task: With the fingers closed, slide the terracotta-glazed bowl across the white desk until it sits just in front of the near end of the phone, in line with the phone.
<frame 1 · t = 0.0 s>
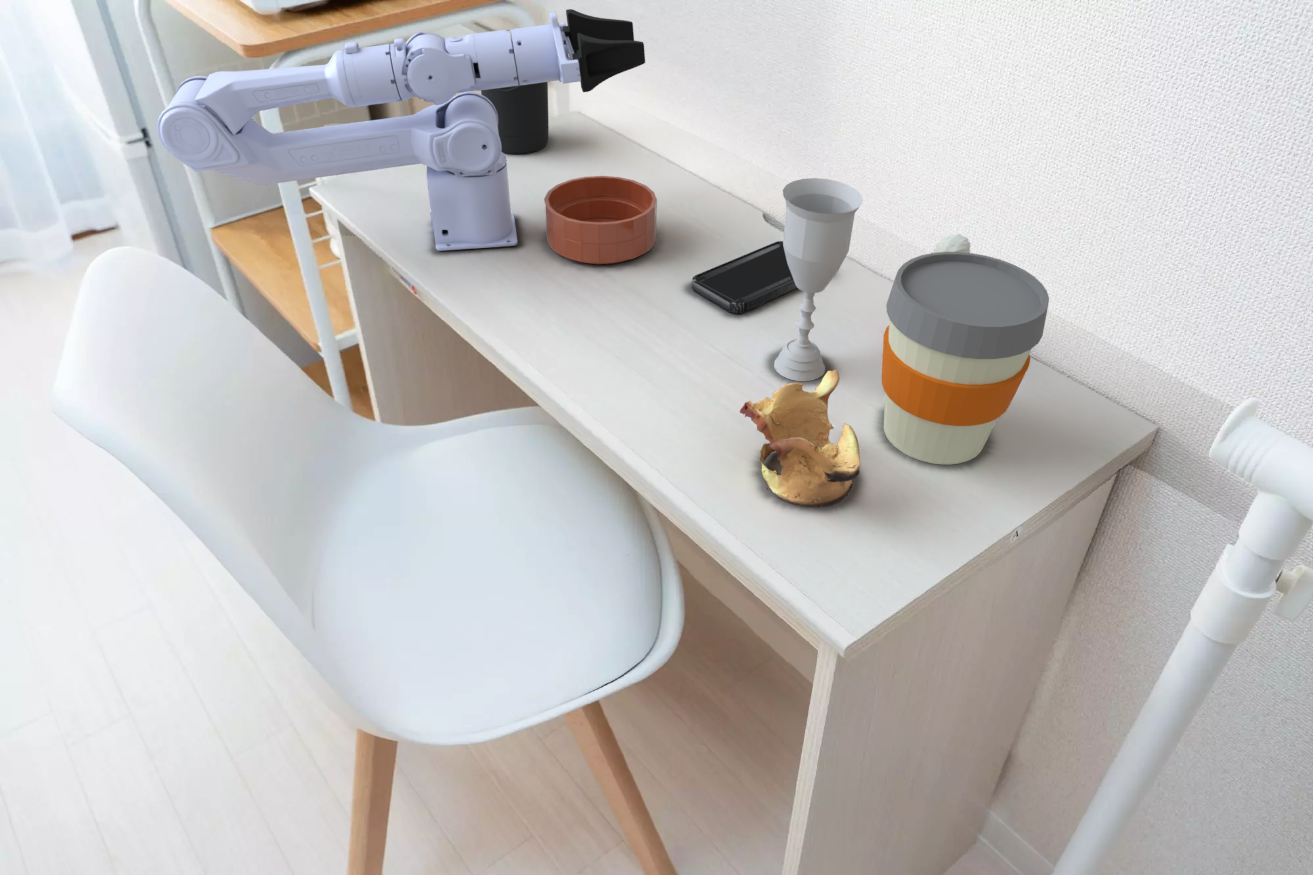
hand: (638, 42, 103), 22 cm above the table, tool horizontal, fingers open, 7 cm apart
chalice: (799, 368, 93), on the table
yellow irregular figure: (808, 477, 80), on the table
reusable coffee cup: (933, 434, 85), on the table
bowl: (601, 241, 112), on the table
phone: (760, 281, 106), on the table
grandmother figurine: (928, 350, 96), on the table
pen holder: (518, 144, 136), on the table
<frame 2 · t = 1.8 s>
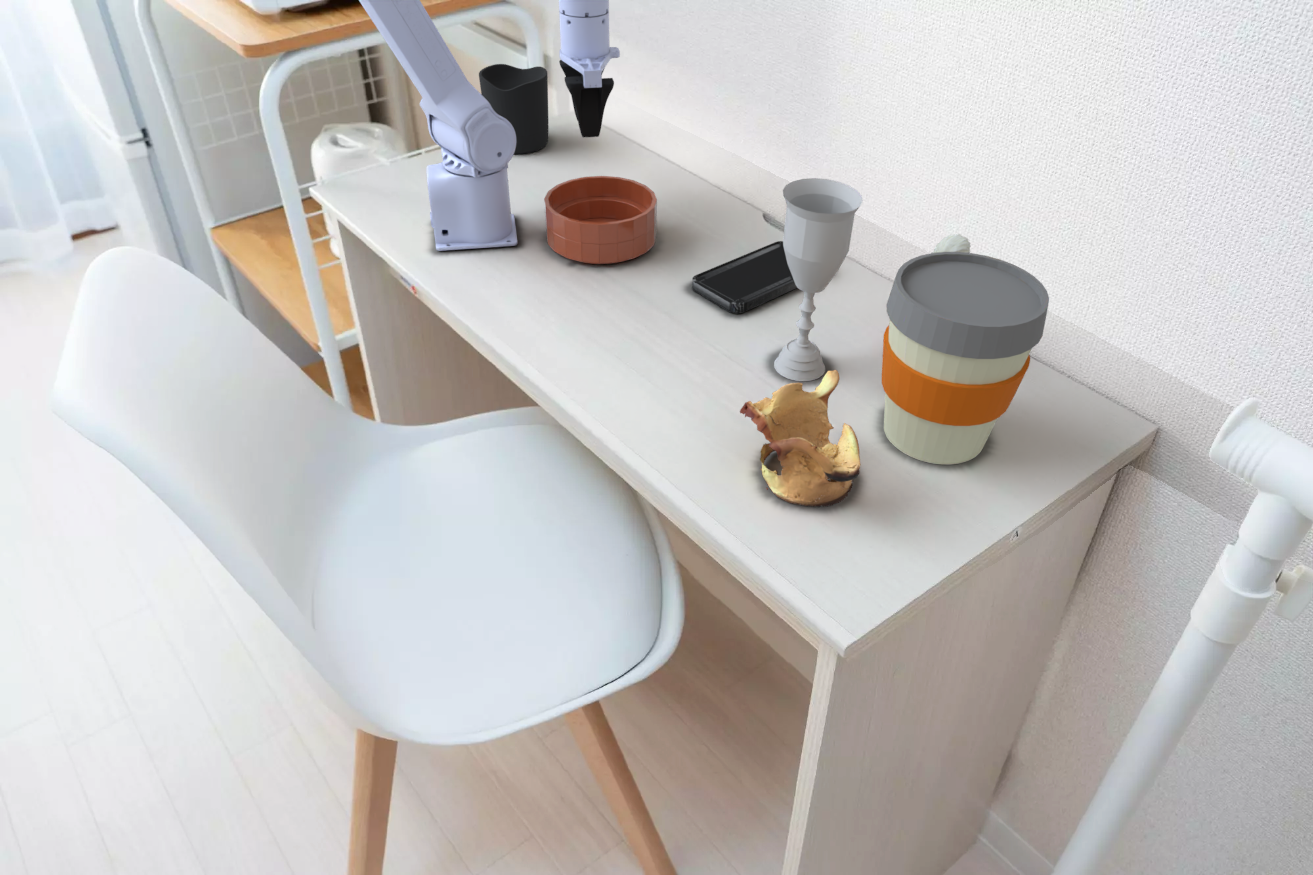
hand: (587, 127, 116), 9 cm above the table, tool pointing down, fingers open, 5 cm apart
nothing on the table moved.
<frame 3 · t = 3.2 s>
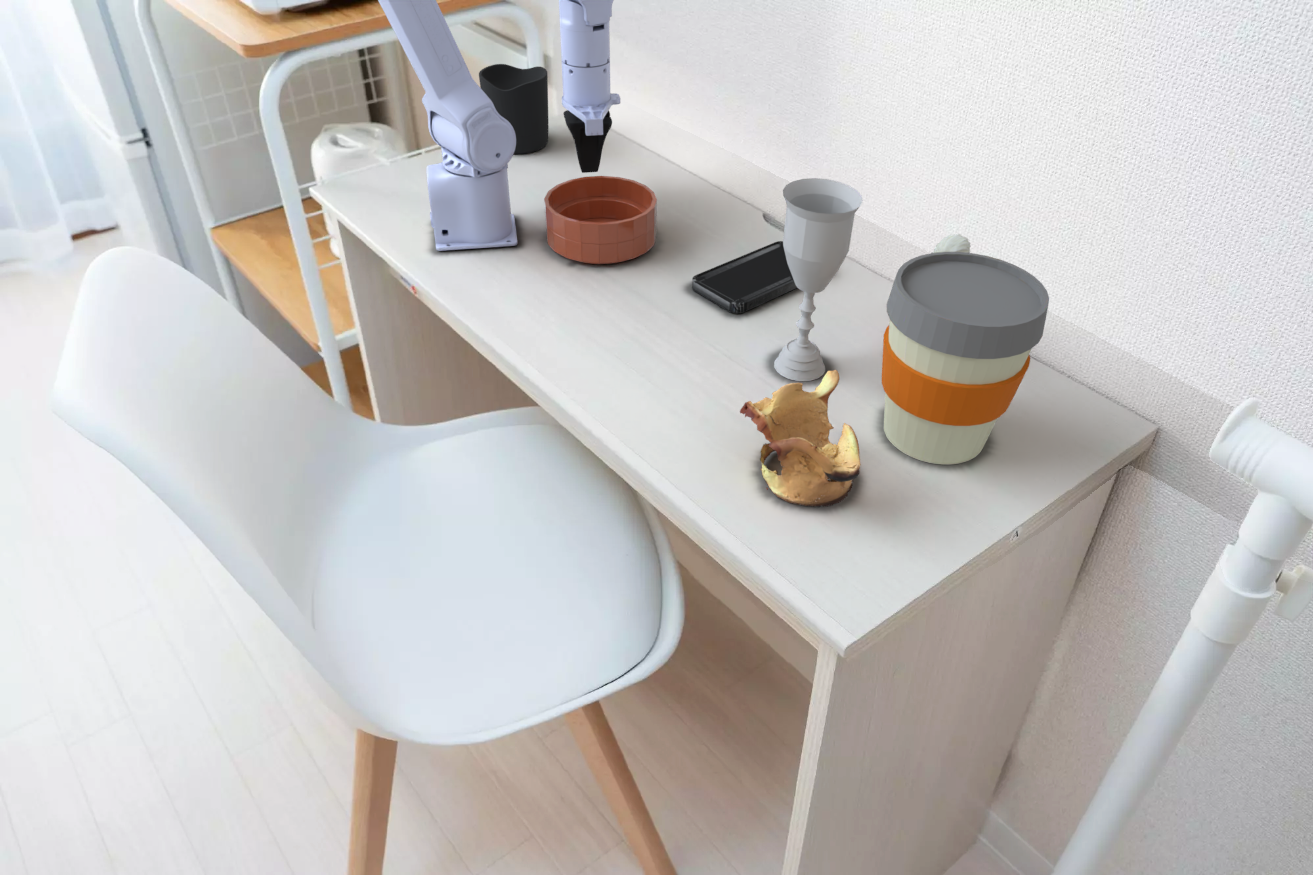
hand: (589, 170, 119), 4 cm above the table, tool pointing down, fingers closed
nothing on the table moved.
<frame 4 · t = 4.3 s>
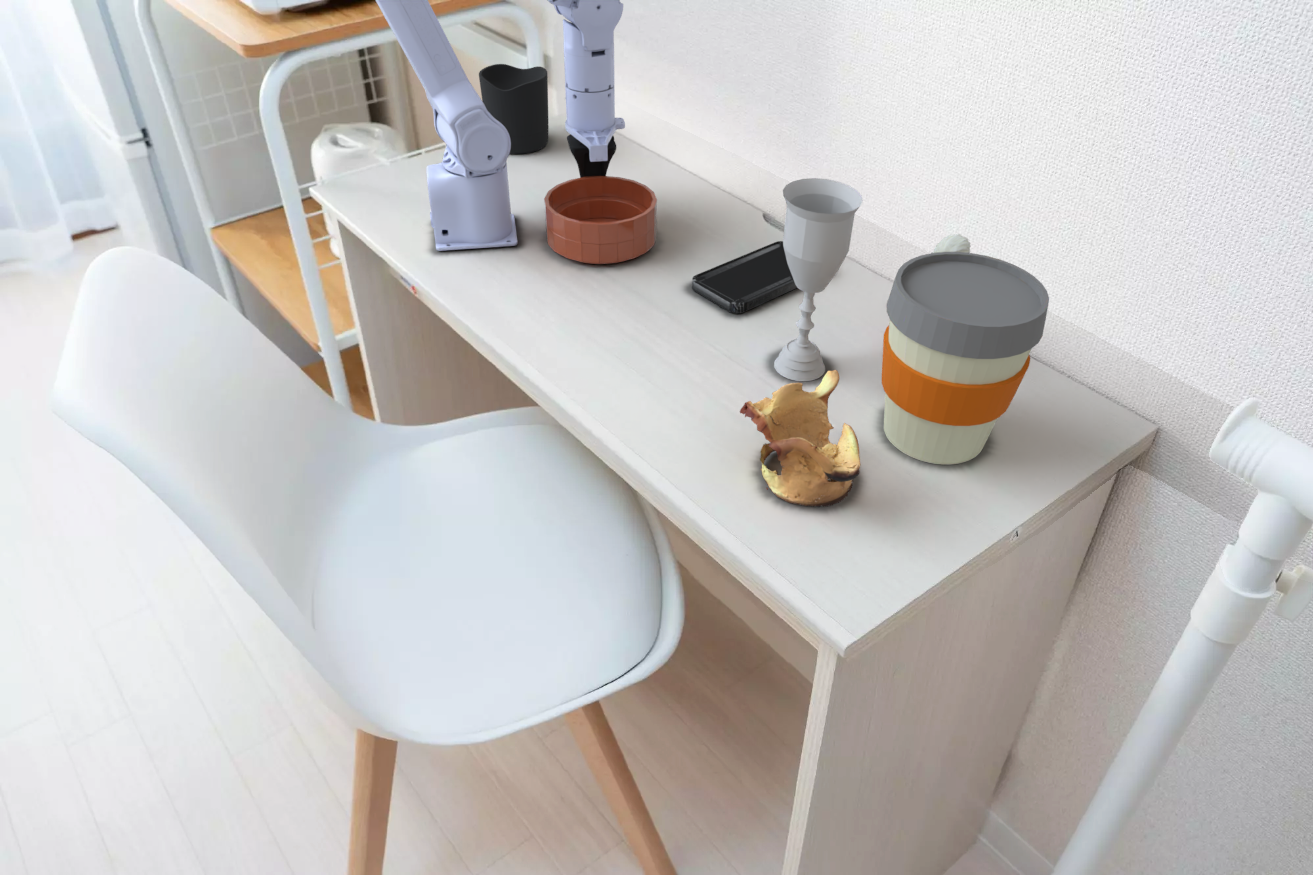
hand: (592, 194, 117), 2 cm above the table, tool pointing down, fingers closed
bowl: (601, 241, 112), on the table, touching gripper
everything else where it was.
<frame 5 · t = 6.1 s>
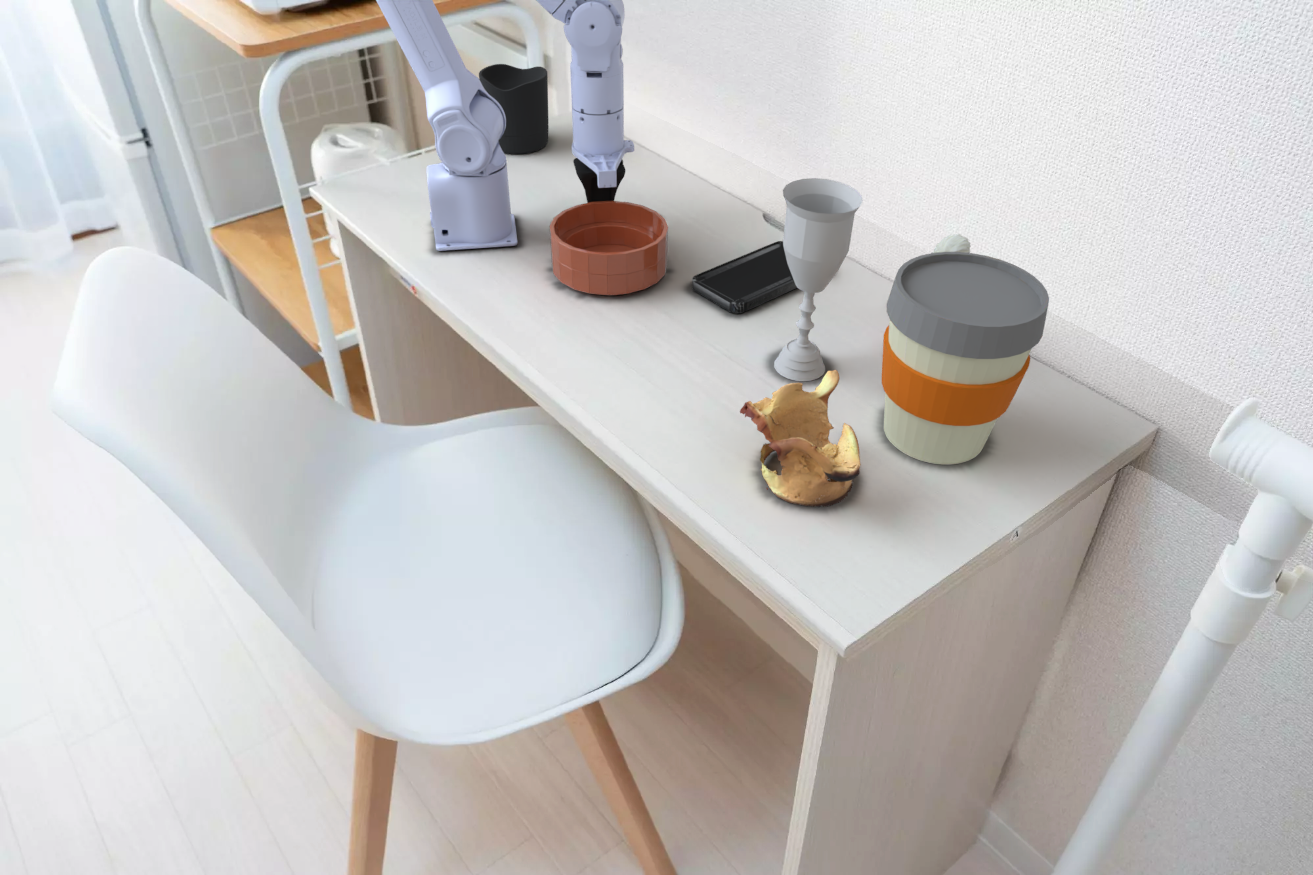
hand: (600, 220, 112), 2 cm above the table, tool pointing down, fingers closed
bowl: (609, 270, 107), on the table, touching gripper
everything else where it was.
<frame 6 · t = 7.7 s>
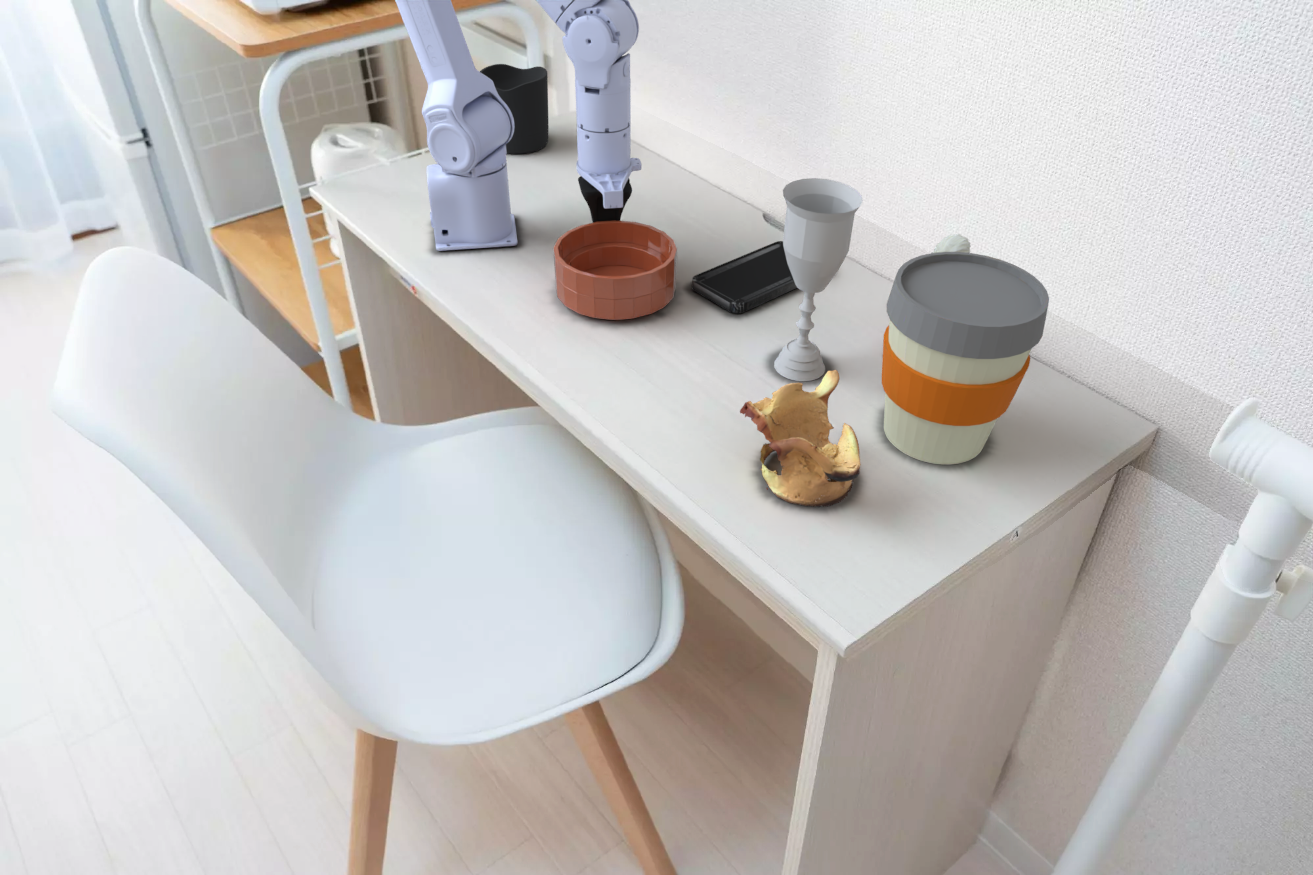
hand: (605, 240, 108), 2 cm above the table, tool pointing down, fingers closed
bowl: (615, 293, 103), on the table, touching gripper
everything else where it was.
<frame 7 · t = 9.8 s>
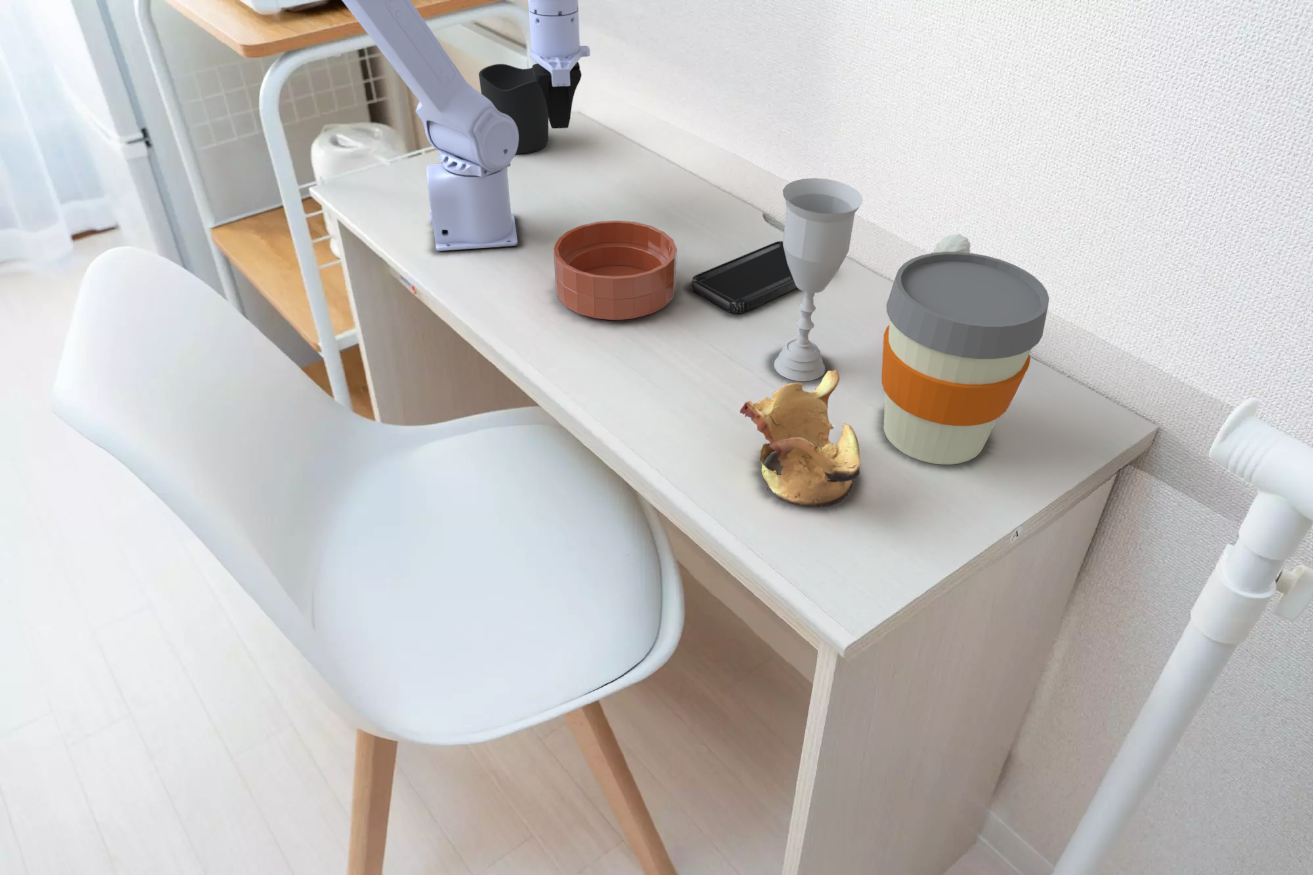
hand: (559, 126, 116), 9 cm above the table, tool pointing down, fingers closed
bowl: (615, 293, 103), on the table
everything else where it was.
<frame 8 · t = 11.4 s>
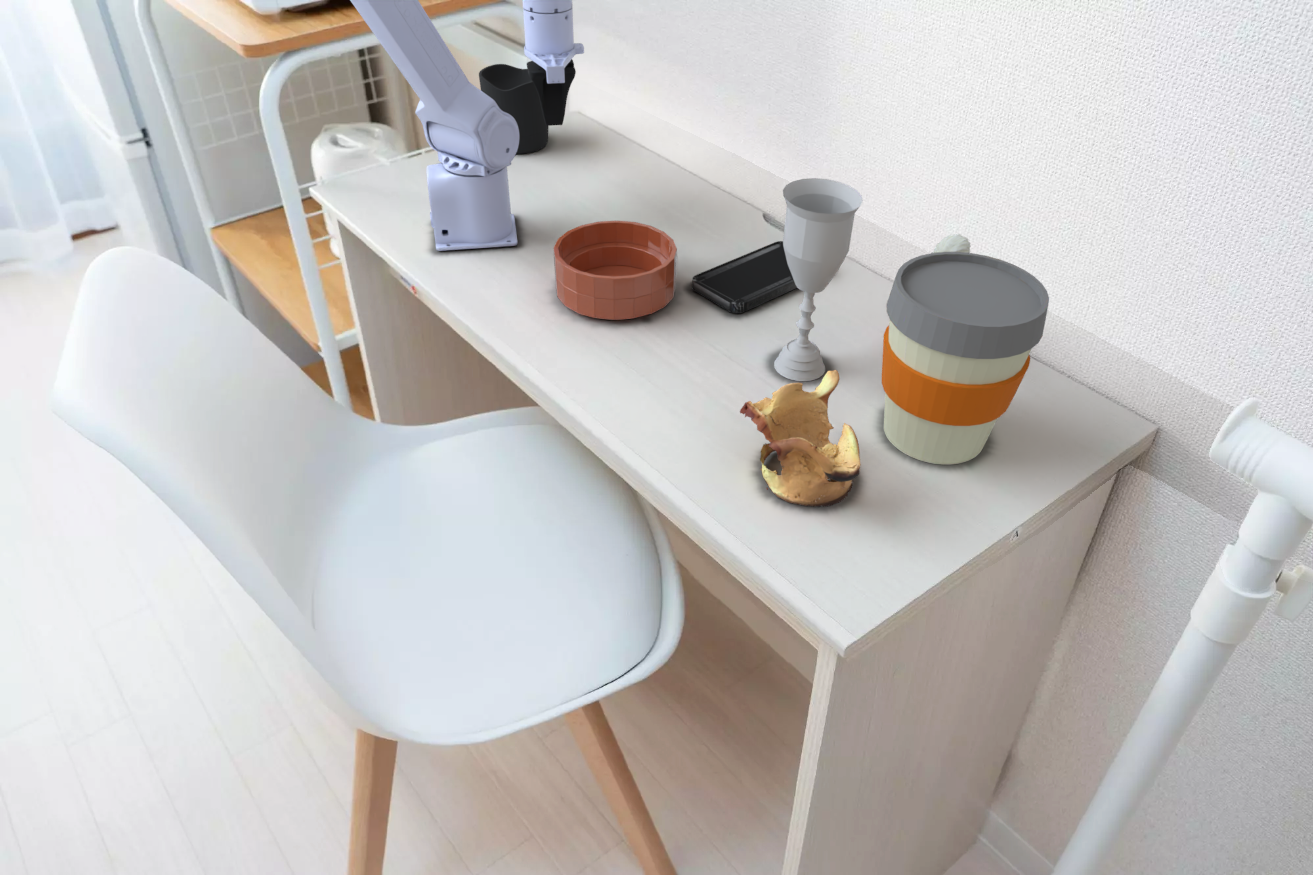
hand: (553, 123, 117), 9 cm above the table, tool pointing down, fingers closed
nothing on the table moved.
at the end: bowl inside the target area (0.2 cm from its centre), on the table; bowl 16.5 cm from the phone (horizontally); bowl tilted 0° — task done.
